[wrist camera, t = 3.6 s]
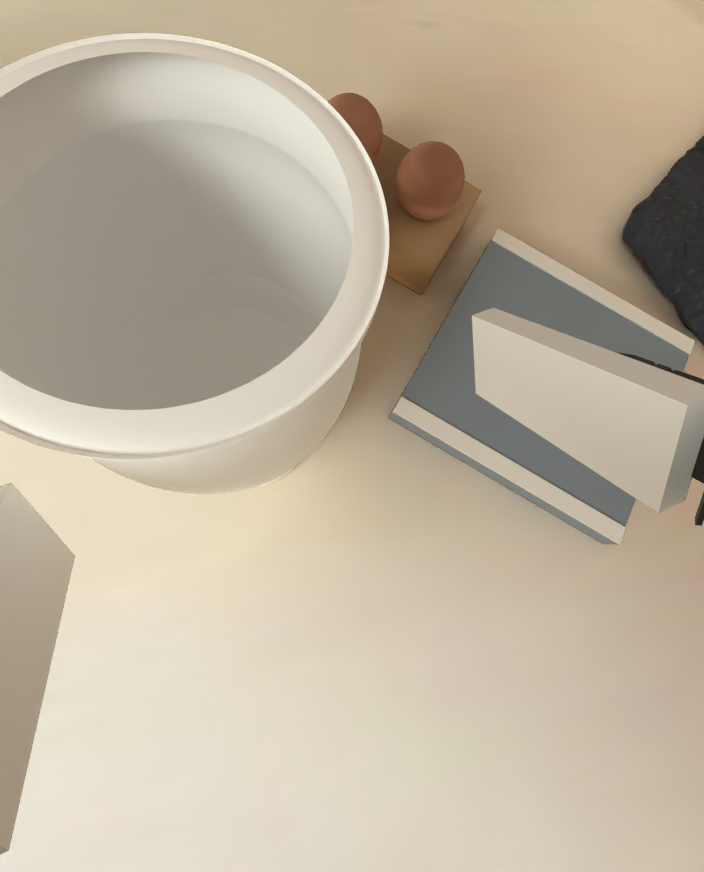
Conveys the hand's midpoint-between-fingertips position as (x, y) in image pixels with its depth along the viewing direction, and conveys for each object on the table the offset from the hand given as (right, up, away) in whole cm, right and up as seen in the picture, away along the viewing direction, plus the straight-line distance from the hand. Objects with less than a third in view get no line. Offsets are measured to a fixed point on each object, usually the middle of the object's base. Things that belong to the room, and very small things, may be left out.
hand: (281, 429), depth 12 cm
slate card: (+14, +3, +14) cm, 20 cm away
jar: (-4, +1, +11) cm, 12 cm away
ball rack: (+3, +14, +15) cm, 21 cm away
